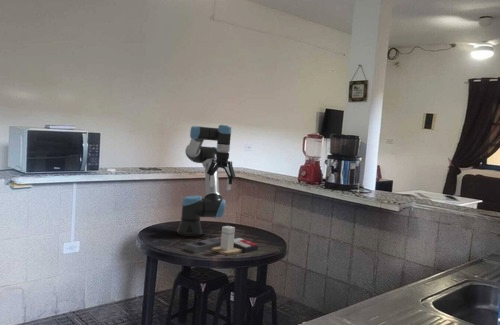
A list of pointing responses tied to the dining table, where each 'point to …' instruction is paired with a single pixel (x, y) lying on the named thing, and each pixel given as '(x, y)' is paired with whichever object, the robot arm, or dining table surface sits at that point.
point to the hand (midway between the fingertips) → (219, 188)
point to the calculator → (245, 245)
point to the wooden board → (225, 252)
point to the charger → (227, 238)
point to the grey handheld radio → (203, 245)
